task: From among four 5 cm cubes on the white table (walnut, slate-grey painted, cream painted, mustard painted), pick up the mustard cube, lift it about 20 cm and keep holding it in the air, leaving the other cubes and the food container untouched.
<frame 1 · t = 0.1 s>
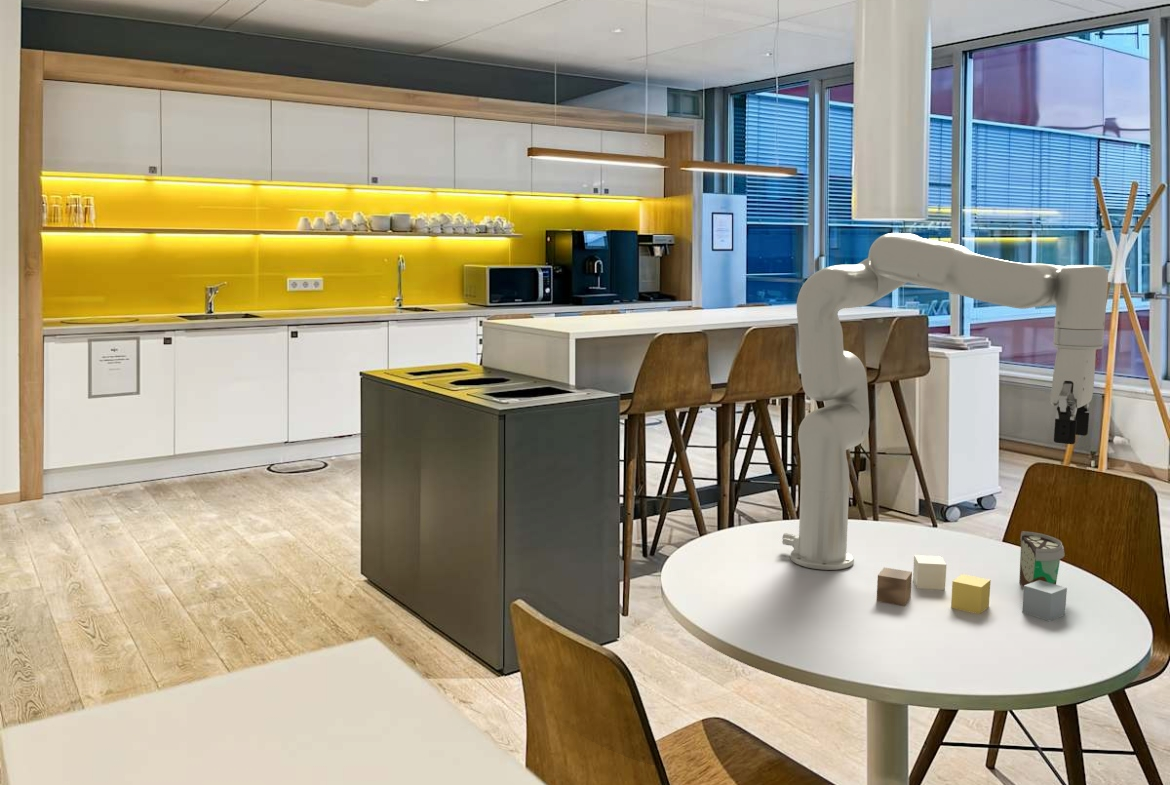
hand: (1070, 438, 168), 31 cm above the table, fingers open, 9 cm apart
cream cube: (928, 584, 187), on the table
walnut cube: (893, 599, 179), on the table
slate cube: (1043, 614, 172), on the table
mustard cube: (969, 607, 175), on the table
food container: (1042, 593, 183), on the table
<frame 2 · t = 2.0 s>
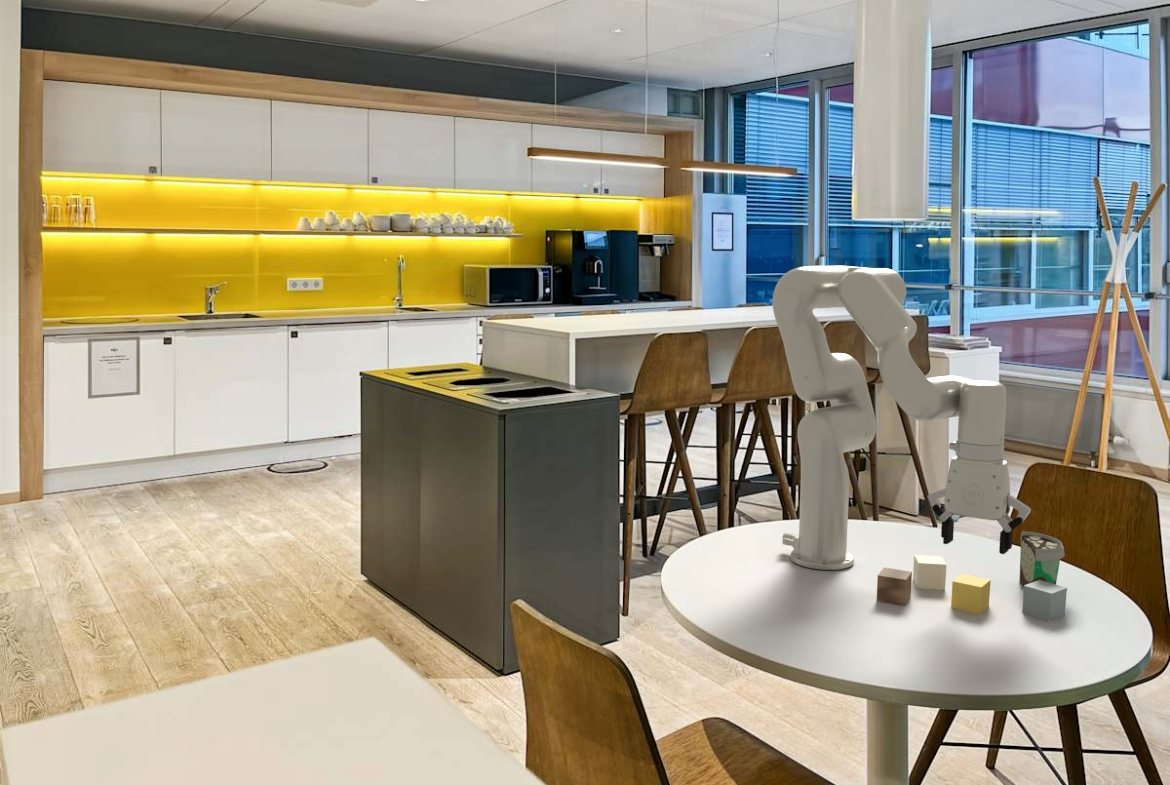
hand: (975, 547, 173), 11 cm above the table, fingers open, 9 cm apart
nothing on the table moved.
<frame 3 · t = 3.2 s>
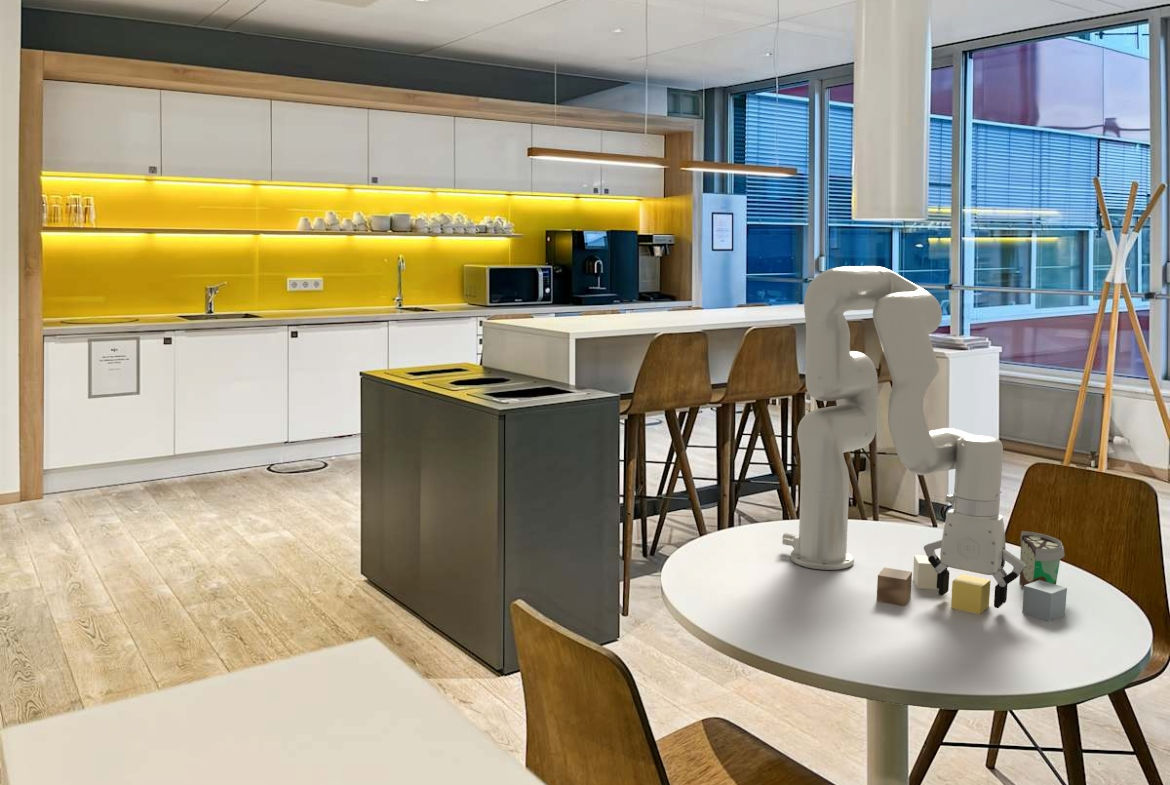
hand: (970, 599, 175), 1 cm above the table, fingers open, 9 cm apart
nothing on the table moved.
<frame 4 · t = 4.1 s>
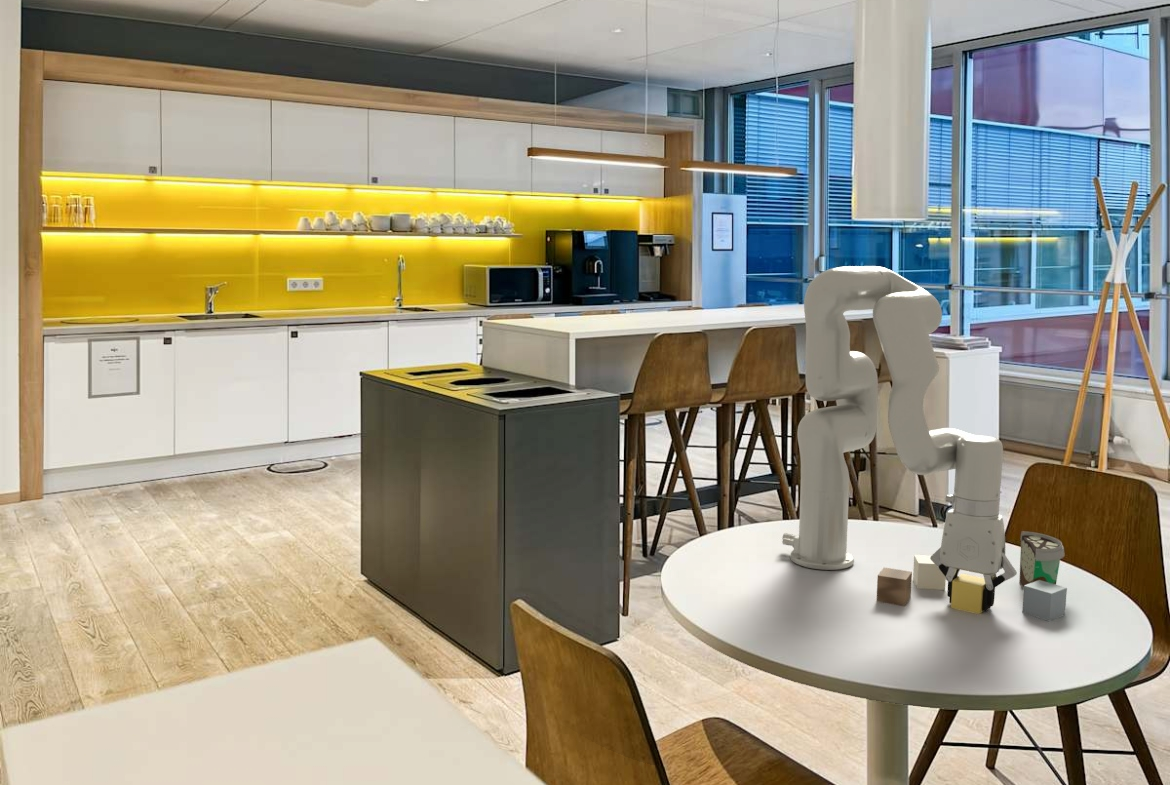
hand: (970, 604, 175), 0 cm above the table, fingers closed on mustard cube, 5 cm apart
mustard cube: (969, 607, 175), on the table, touching gripper
everything else where it was.
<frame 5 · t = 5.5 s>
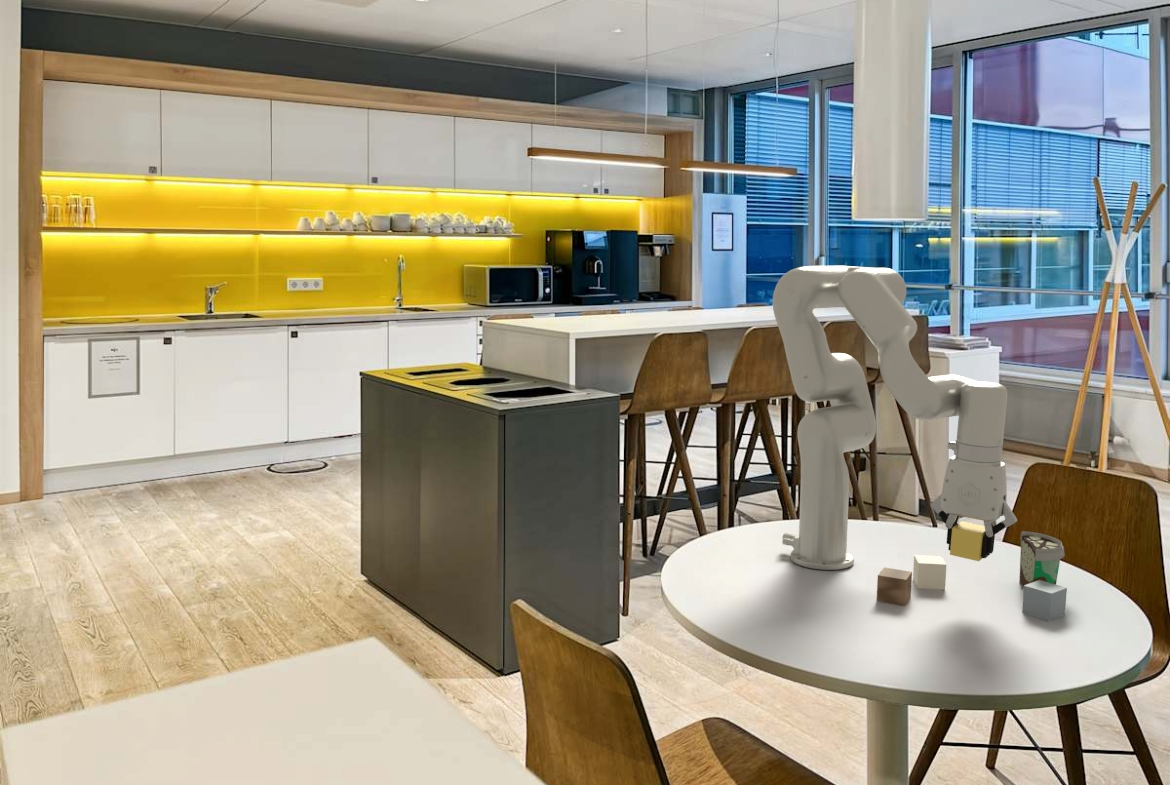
hand: (969, 551, 174), 10 cm above the table, fingers closed on mustard cube, 5 cm apart
mustard cube: (968, 554, 175), point 9 cm above the table, touching gripper
everything else where it was.
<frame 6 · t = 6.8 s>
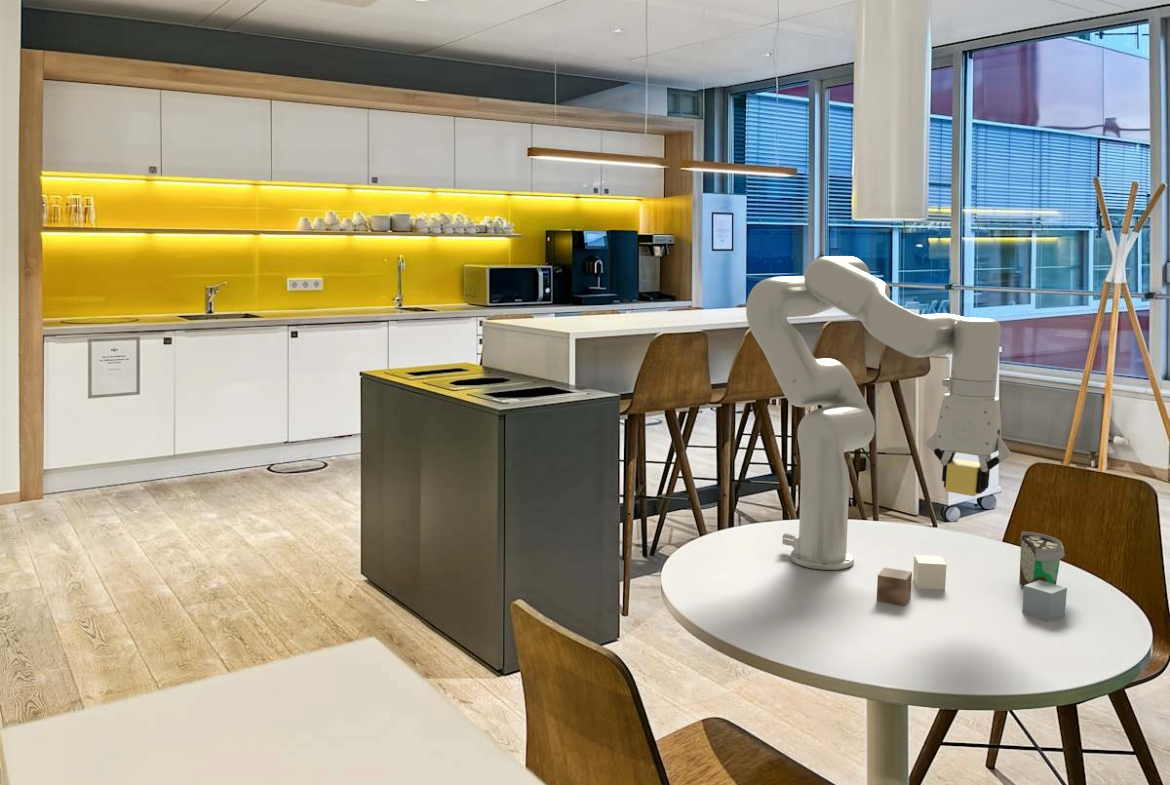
hand: (964, 488, 175), 21 cm above the table, fingers closed on mustard cube, 5 cm apart
mustard cube: (964, 491, 175), point 20 cm above the table, touching gripper
everything else where it was.
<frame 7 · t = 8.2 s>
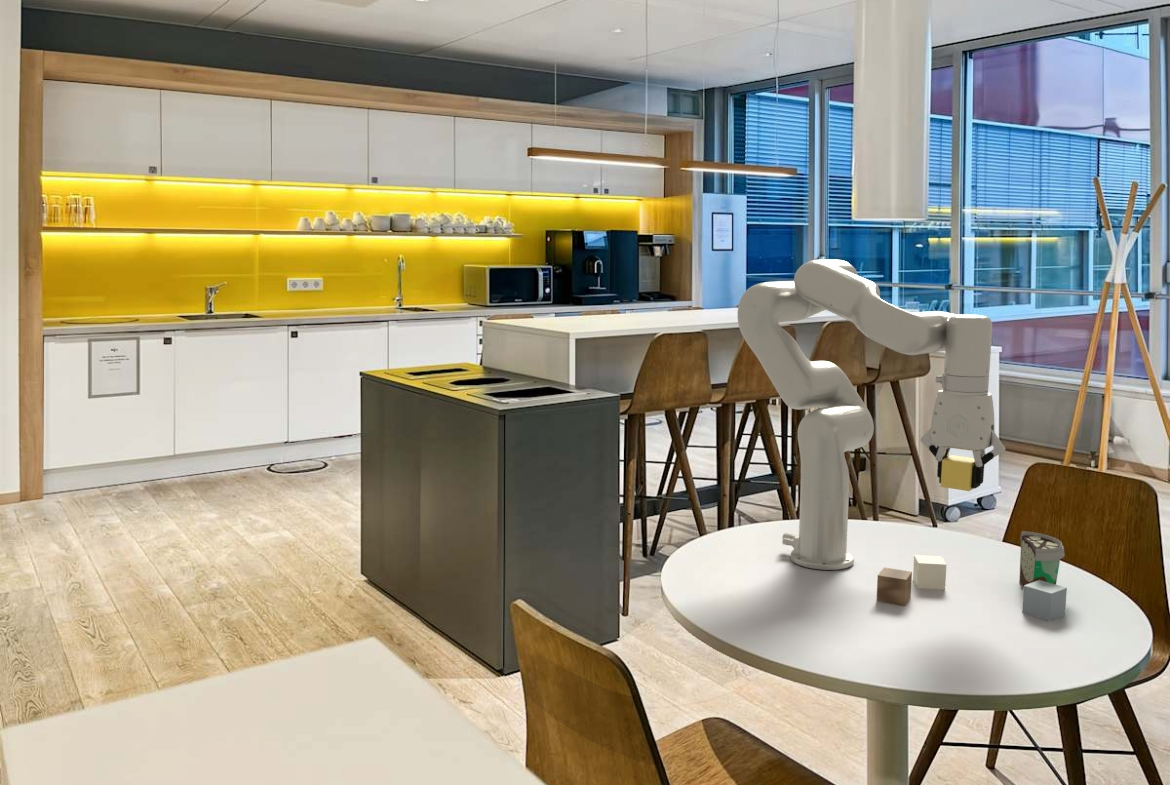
hand: (959, 483, 177), 21 cm above the table, fingers closed on mustard cube, 5 cm apart
mustard cube: (959, 486, 177), point 21 cm above the table, touching gripper
everything else where it was.
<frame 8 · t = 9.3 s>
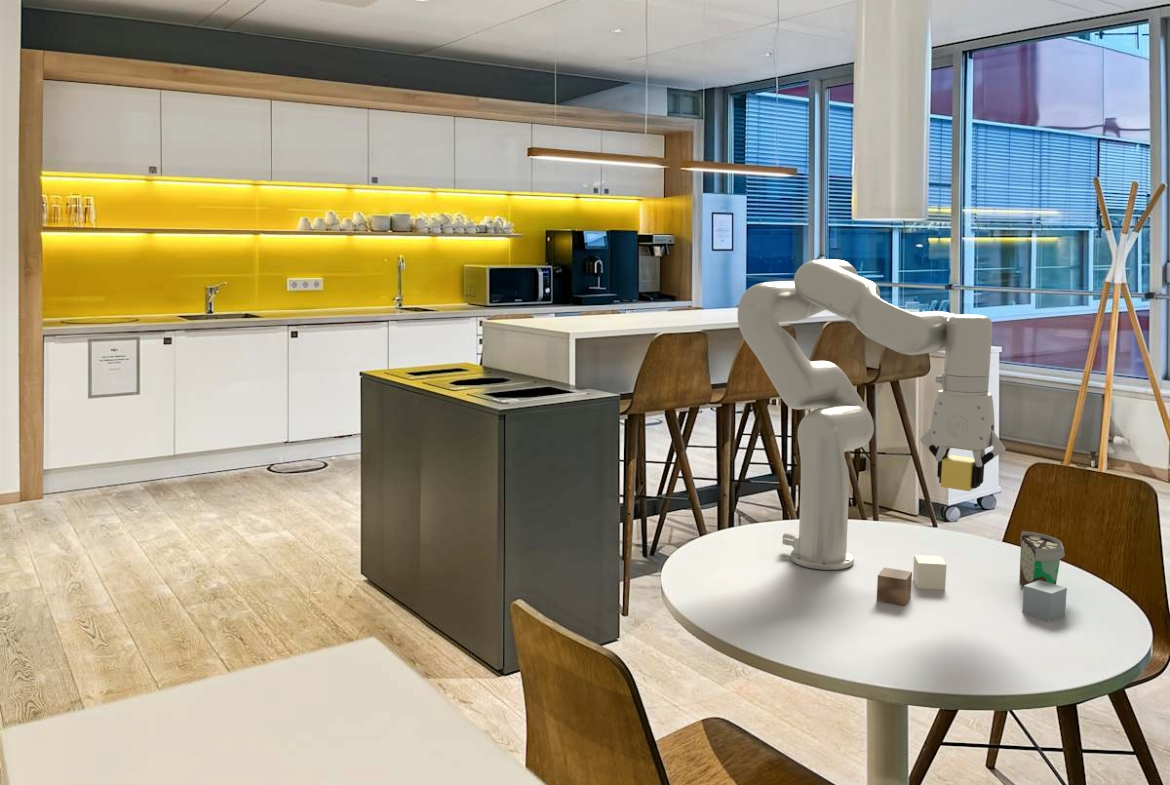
hand: (959, 483, 177), 21 cm above the table, fingers closed on mustard cube, 5 cm apart
mustard cube: (959, 486, 177), point 21 cm above the table, touching gripper
everything else where it was.
at the end: the gripper is holding mustard cube; mustard cube point 20.8 cm above the table; slate cube moved 0.1 cm from its start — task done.
